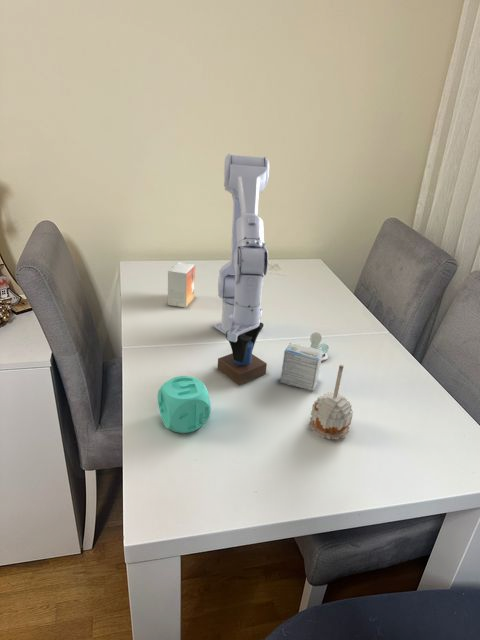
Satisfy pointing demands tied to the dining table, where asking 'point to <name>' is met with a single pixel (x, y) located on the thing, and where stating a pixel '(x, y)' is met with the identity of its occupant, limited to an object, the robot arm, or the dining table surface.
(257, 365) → the walnut block
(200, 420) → the decorative dice
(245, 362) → the blue bottle
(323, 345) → the pacifier
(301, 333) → the dining table surface
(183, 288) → the small box
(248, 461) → the dining table surface
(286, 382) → the medicine box
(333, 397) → the caramel apple
